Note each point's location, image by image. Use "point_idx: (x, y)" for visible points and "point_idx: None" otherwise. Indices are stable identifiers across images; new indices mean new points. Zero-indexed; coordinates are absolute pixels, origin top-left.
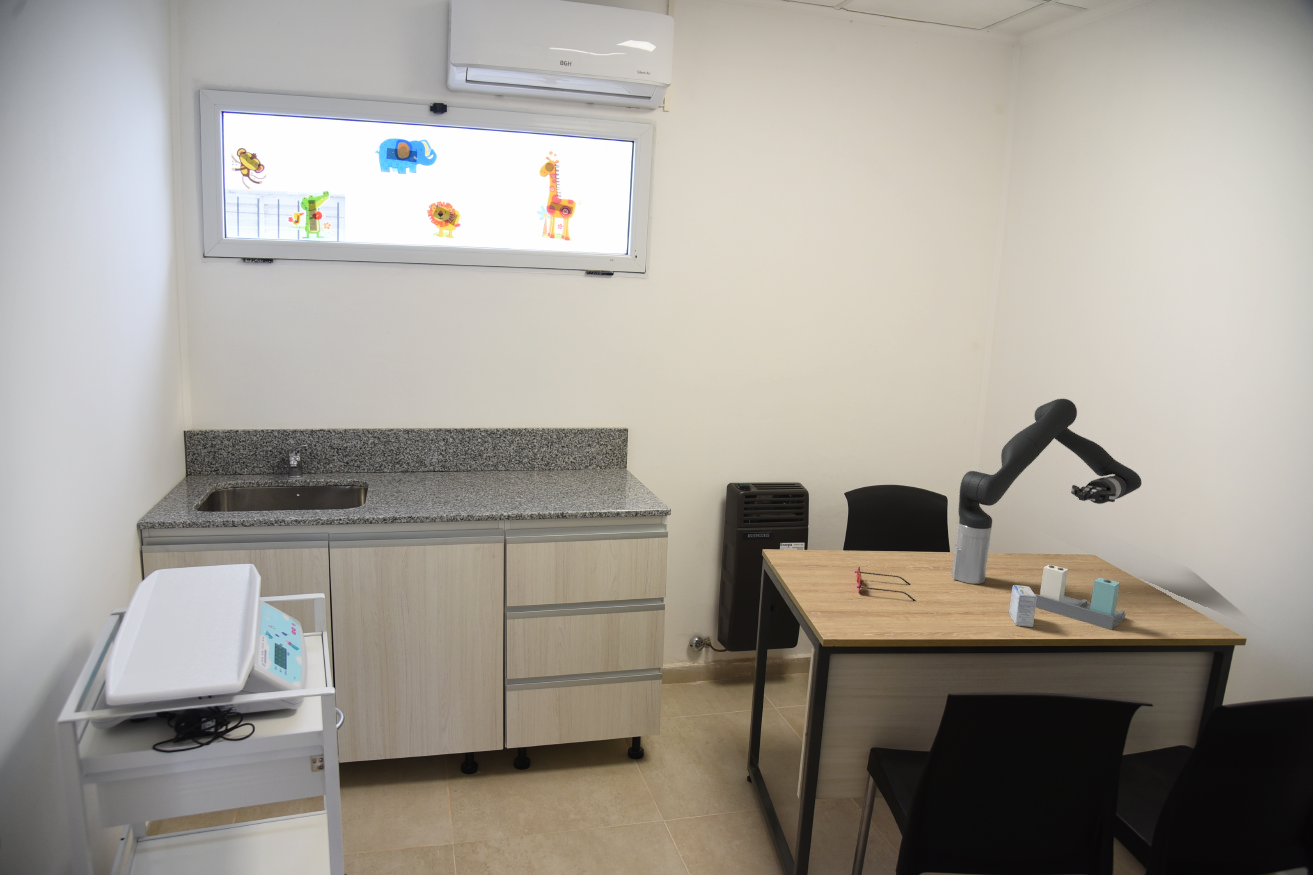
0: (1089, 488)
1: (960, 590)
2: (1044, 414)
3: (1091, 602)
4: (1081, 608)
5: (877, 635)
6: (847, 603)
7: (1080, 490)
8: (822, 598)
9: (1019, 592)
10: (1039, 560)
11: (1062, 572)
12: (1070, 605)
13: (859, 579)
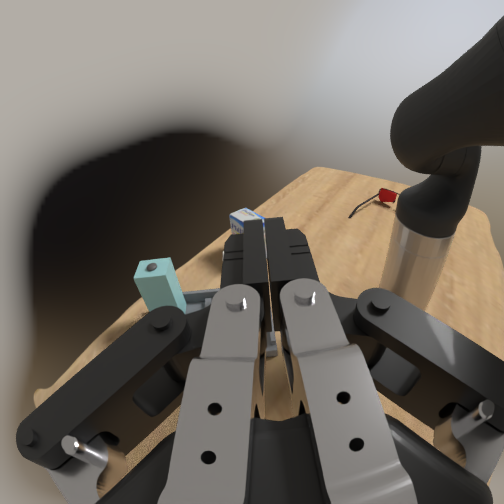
0: (304, 366)
1: (361, 267)
2: None
3: (180, 287)
4: (194, 291)
5: (302, 177)
6: (361, 188)
7: (357, 301)
8: (375, 184)
9: (249, 211)
10: None
11: (223, 251)
12: (211, 290)
13: (387, 192)
